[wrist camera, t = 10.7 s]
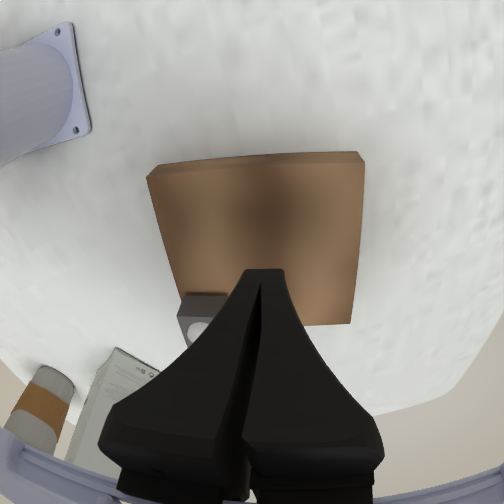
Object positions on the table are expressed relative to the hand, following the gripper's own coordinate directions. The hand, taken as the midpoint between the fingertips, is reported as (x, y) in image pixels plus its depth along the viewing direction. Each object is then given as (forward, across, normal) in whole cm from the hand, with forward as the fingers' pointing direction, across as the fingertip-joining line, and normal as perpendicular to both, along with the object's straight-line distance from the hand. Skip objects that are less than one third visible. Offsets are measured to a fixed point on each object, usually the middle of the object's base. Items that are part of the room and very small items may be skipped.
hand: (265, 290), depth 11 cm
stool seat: (+9, +1, +9) cm, 13 cm away
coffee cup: (+10, +33, +27) cm, 43 cm away
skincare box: (+10, +18, +21) cm, 29 cm away
